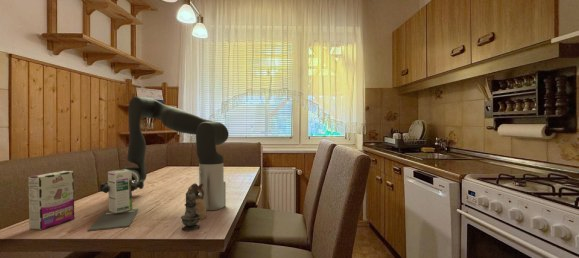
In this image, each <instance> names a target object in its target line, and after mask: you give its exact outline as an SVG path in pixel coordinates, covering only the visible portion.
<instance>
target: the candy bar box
mask: <svg viewBox="0 0 579 258" xmlns="http://www.w3.org/2000/svg"><path fill="white" fill-rule="evenodd" d="M27 179H28V180H27V181H28V182H27V185H28V215H29V216H28V217H29V218H28V220H29V230H33V231H34V230H37V231H43V230H46V229H49V228H52V227H54V226H57V225H60V224H63V223H66V222H69V221H72V220H75V194H74V193H75V186H74V184H75V182H74V171H73V170H61V171H60V170H59V171H55V172H47V173H44V174H43V173H42V174H37V175H30V176H28V177H27Z"/></svg>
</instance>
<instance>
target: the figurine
mask: <svg viewBox="0 0 579 258" xmlns="http://www.w3.org/2000/svg"><path fill="white" fill-rule="evenodd" d="M202 186H203V184H202V183H201V184H200V185H199V184H197V183H192V184H191V185H190V186H189V187H188V188H187V192H185V195H186V194H187V193H189V192H190V189H191V190H192V192H194V193H195V195H196V203H197V205H196V213H197V214H199V215H201V217H200V220H199V222H200V221H202V220H205V219H206V218H207V210H206V207H205V203H204V199H203V197H204V191H203V189H202ZM199 192H201V193H202V196H200V195H199ZM184 211H185V212H186V210H184ZM185 212H184V213H185Z"/></svg>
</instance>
